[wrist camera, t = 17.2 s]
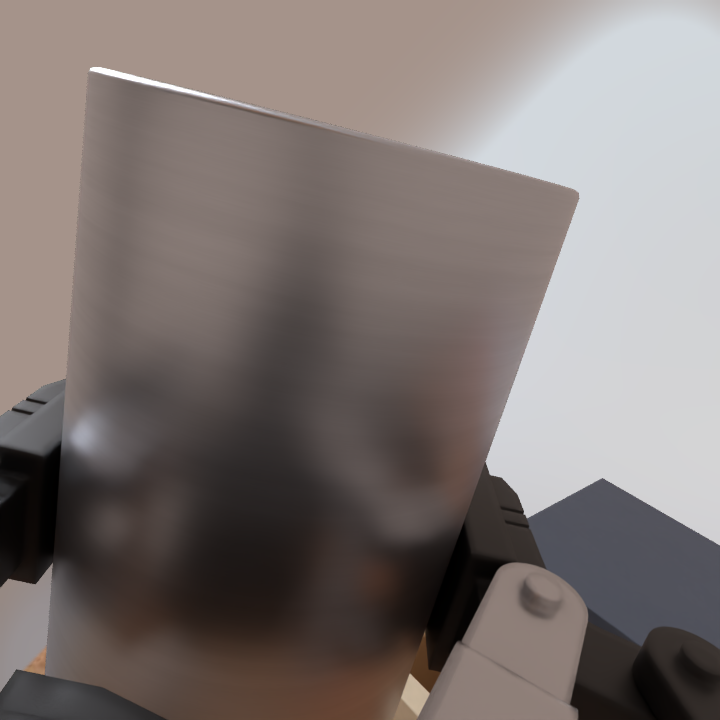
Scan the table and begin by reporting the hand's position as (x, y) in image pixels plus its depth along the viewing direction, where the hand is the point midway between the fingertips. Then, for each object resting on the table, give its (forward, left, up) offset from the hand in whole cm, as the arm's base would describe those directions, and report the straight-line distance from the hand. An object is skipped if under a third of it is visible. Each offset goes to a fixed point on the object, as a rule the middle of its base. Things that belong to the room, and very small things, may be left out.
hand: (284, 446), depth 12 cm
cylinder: (+2, -2, -11) cm, 11 cm away
